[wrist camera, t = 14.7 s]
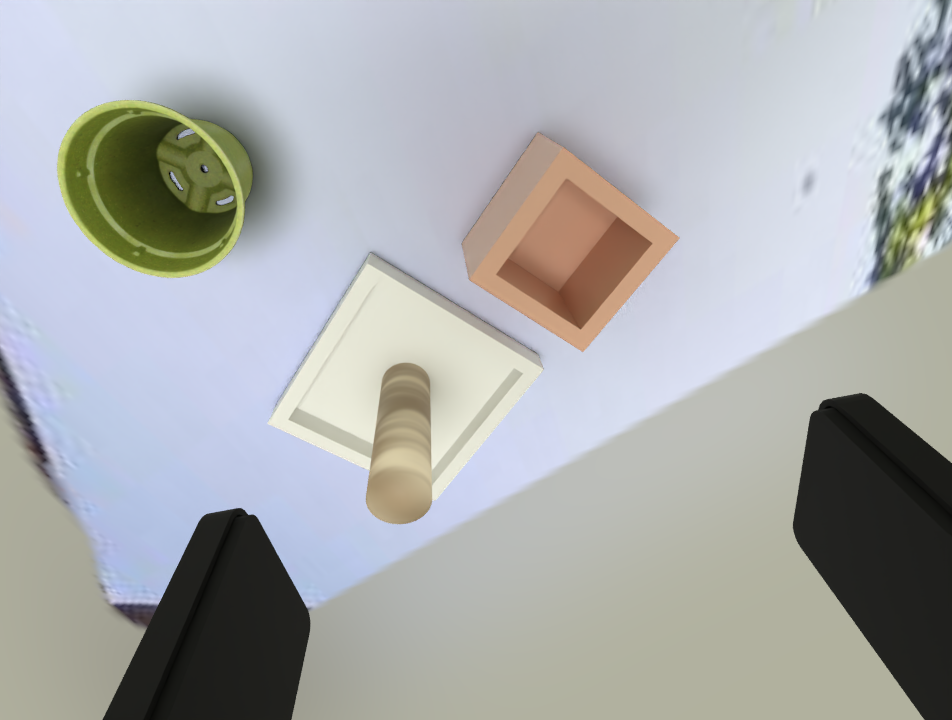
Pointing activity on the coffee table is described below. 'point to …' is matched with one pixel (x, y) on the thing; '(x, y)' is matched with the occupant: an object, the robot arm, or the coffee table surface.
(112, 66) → the coffee table surface
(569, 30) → the coffee table surface
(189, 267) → the plant pot
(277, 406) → the cream tray
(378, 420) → the birch dowel
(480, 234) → the terracotta cup
